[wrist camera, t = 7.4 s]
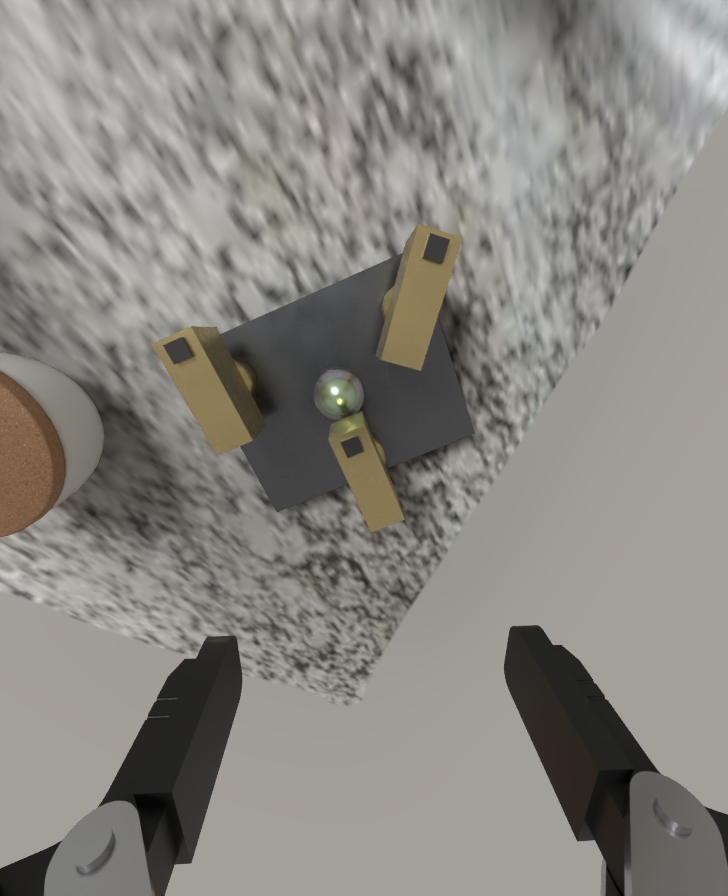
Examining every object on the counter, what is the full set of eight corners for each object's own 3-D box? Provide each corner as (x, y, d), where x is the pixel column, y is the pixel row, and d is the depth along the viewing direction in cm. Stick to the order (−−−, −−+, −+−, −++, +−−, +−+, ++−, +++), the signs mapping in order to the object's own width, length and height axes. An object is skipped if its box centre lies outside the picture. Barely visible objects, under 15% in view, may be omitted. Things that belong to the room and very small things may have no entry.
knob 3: (408, 363, 24) (427, 372, 18) (368, 352, 23) (375, 358, 18) (439, 261, 22) (470, 238, 16) (396, 247, 21) (413, 219, 16)
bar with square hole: (396, 481, 26) (410, 520, 21) (362, 494, 27) (366, 536, 21) (365, 403, 24) (370, 424, 19) (327, 419, 25) (323, 443, 19)
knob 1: (276, 416, 24) (256, 440, 19) (240, 431, 25) (210, 459, 19) (230, 325, 22) (193, 323, 17) (191, 343, 23) (143, 346, 17)
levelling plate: (281, 500, 29) (273, 520, 26) (198, 348, 25) (177, 350, 22) (465, 426, 28) (481, 438, 24) (410, 254, 24) (420, 242, 20)
